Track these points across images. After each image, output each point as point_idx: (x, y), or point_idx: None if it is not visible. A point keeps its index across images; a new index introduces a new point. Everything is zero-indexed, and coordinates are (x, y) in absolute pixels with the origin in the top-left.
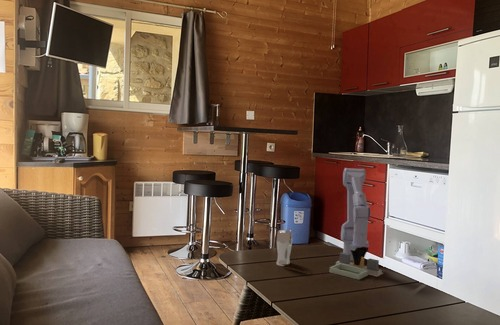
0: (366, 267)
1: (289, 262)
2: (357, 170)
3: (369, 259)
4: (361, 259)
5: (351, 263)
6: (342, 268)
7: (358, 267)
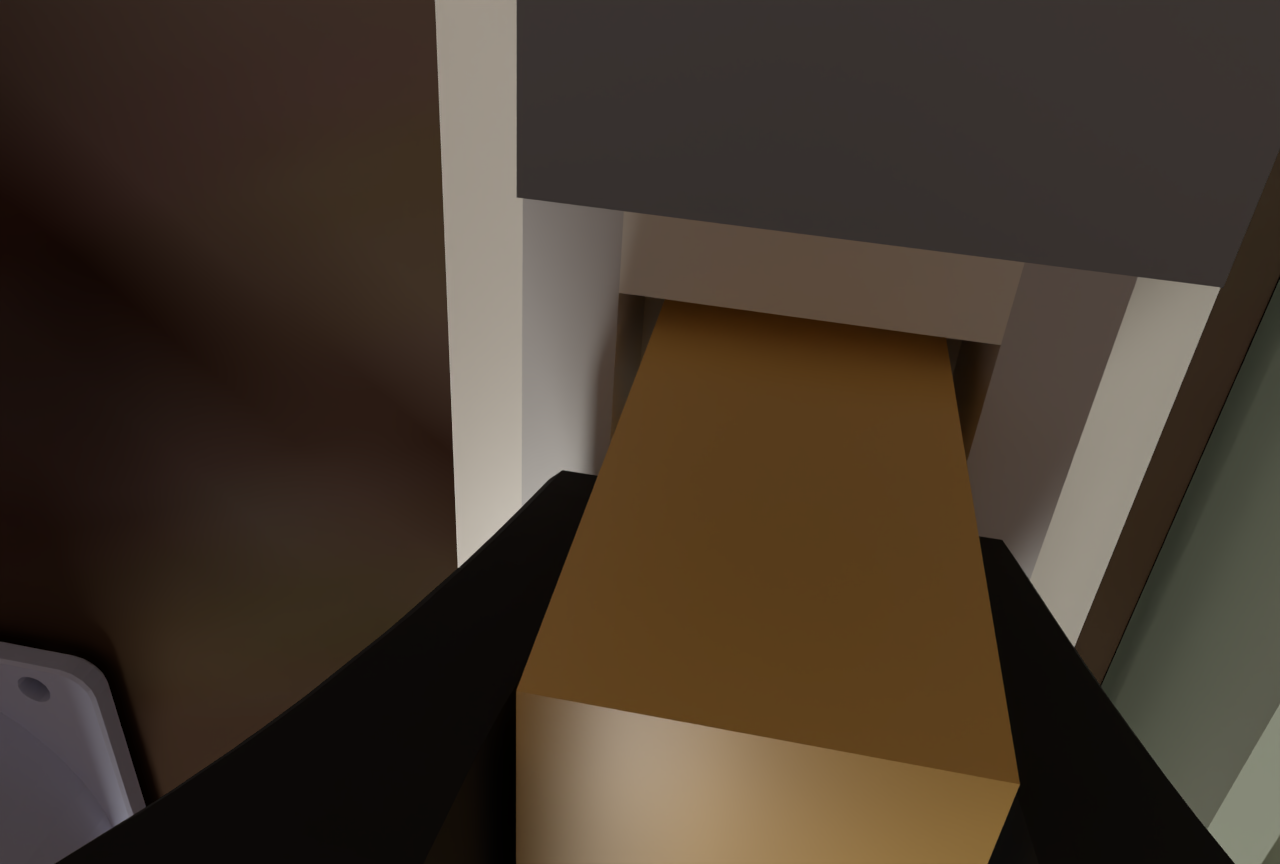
0: None
1: None
2: None
3: (1105, 72)
4: (991, 714)
5: None
6: None
7: (1060, 480)
